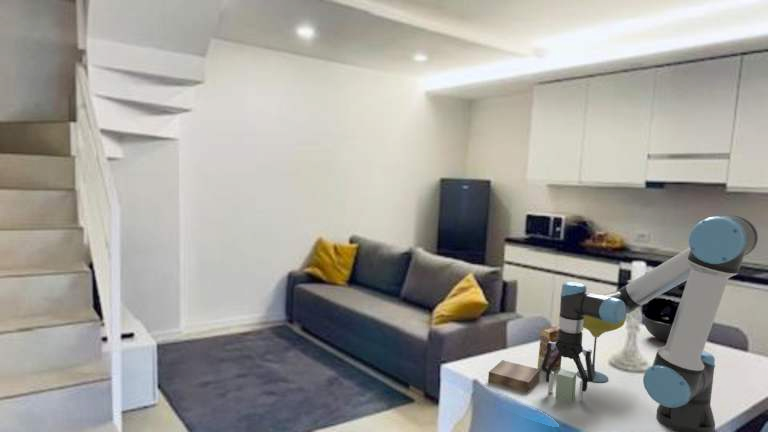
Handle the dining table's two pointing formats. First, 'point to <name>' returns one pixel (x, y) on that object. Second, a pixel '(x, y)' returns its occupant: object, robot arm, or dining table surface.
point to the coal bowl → (659, 318)
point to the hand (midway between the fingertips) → (565, 395)
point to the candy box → (546, 336)
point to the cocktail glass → (596, 330)
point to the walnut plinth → (514, 376)
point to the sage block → (565, 385)
